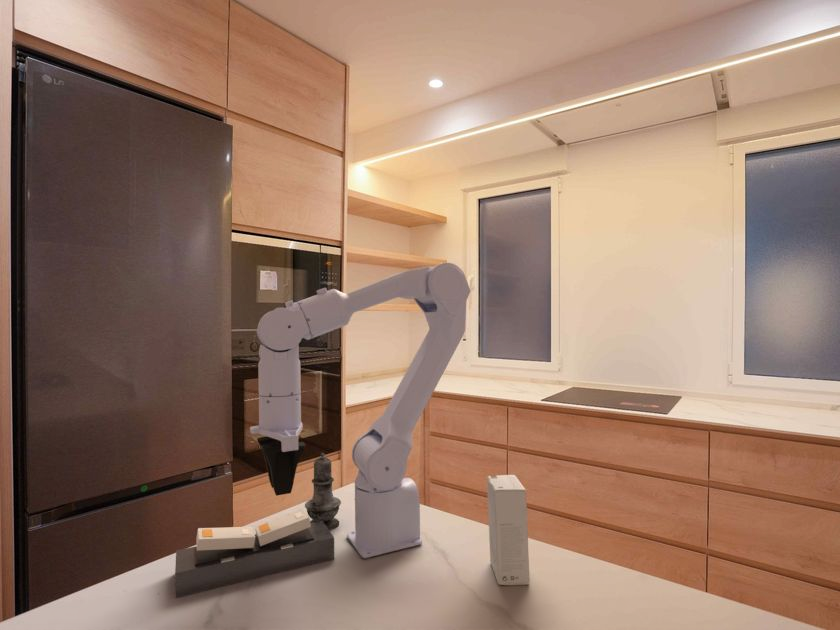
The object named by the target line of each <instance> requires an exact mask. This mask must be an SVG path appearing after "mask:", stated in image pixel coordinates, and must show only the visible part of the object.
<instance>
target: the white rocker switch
mask: <svg viewBox="0 0 840 630" xmlns="http://www.w3.org/2000/svg"><path fill="white" fill-rule="evenodd" d="M196 532H197V533H196V536H195V537H196V539H195V541H196V542H195V543H196V546H197V551H199V550H219V549H239V548H254V543H255V534H256V533H255V532H254V528H253V526H231V527H230V526H229V527H227V526H226V527H225V526H224V527H198V528H197V531H196Z"/></svg>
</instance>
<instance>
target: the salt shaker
mask: <svg viewBox="0 0 840 630" xmlns="http://www.w3.org/2000/svg"><path fill="white" fill-rule="evenodd" d="M334 481H335V479H334V477H332V460H331V459H330V458H329V457H326V456H325V453H324V452H321V454H320V457H317V458H316V459H315V460H314V462H313V478H312V479H311V483H312V484H313V495H312V498H311V499H309V500H307V501H306V502H305V504H304V509H306V513H307V515H308V516H309V519H310V523H313V522H317V521H323V522H324V524H325V525H326V526H327V528H328V529H329V531H330V532H331V531H333V530H335V529H337V528H338V527H339V525H340V520H338V518H336V515H337V514H338V513H339V510H340V505H341V504H342V500H341V499H340V498H338V497H335V496H334V494H333V482H334Z"/></svg>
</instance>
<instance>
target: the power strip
mask: <svg viewBox="0 0 840 630" xmlns="http://www.w3.org/2000/svg"><path fill="white" fill-rule="evenodd" d="M310 524H311V527H309V528H306V529H304V530H301V531H299V532H296V533H293V534H291V535H288V536H286V537H283V538H281V539H278V540H275V541H273V542H270V543H268V544H265V545H262V546H260V544H259V541H258V538H257V535H256V533H254V534H255V543H254V548H239V549H219V550H199V551H197V545H196V546H192V547H191V546H190V547H187V548H183V549H178V550H176V551H175V566H174V567H175V568H174V570H175V572H174V573H175V574H174V581H175V591H174V592H175V597H174V598H175V599H177V598H180V597H184V596H189V595H192V594H193V595H194V594H196V593H197V594H198V593H201V592H205V591H209V590H213V589H216V588H220V587H225V586H229V585H234V584H238V583H242V582H245V581H250V580H254V579H258V578H263V577H267V576H269V575H274V574H278V573H282V572H286V571H291V570H294V569H298V568H303V567H307V566H311V565H315V564H319V563H320V564H321V563H323V562H328V561H331V560H332V561H333V560H334V559H335V537H334V535H333V534H332V533H331V530H330V531H329V529H328V528H327V526H326V525H325V524H324V522H323V521H317V522H313V523H310Z"/></svg>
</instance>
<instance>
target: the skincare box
mask: <svg viewBox="0 0 840 630" xmlns="http://www.w3.org/2000/svg"><path fill="white" fill-rule="evenodd" d="M486 489H487V491H486V494H487V511H488V512H487V514H488V515H487V516H488V534H489V535H488V536H489V537H488V539H489V557H490V558H489V559H490V560H489V562H490V564H491V567H492V569H493V573H494V576H495V579H496V582H497V584H498V585H500V586H524V585H525V586H527V585H529V584H530V560H529V558H530V557H529V536H528V535H529V531H528V530H529V529H528V507H527V506H528V505H527V489H526V488H525V486H524V485H523V484H522V482H521V481H520V480H519V478H518V477H517V476H516V474H503V475H501V474H500V475H488V476H486Z"/></svg>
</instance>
